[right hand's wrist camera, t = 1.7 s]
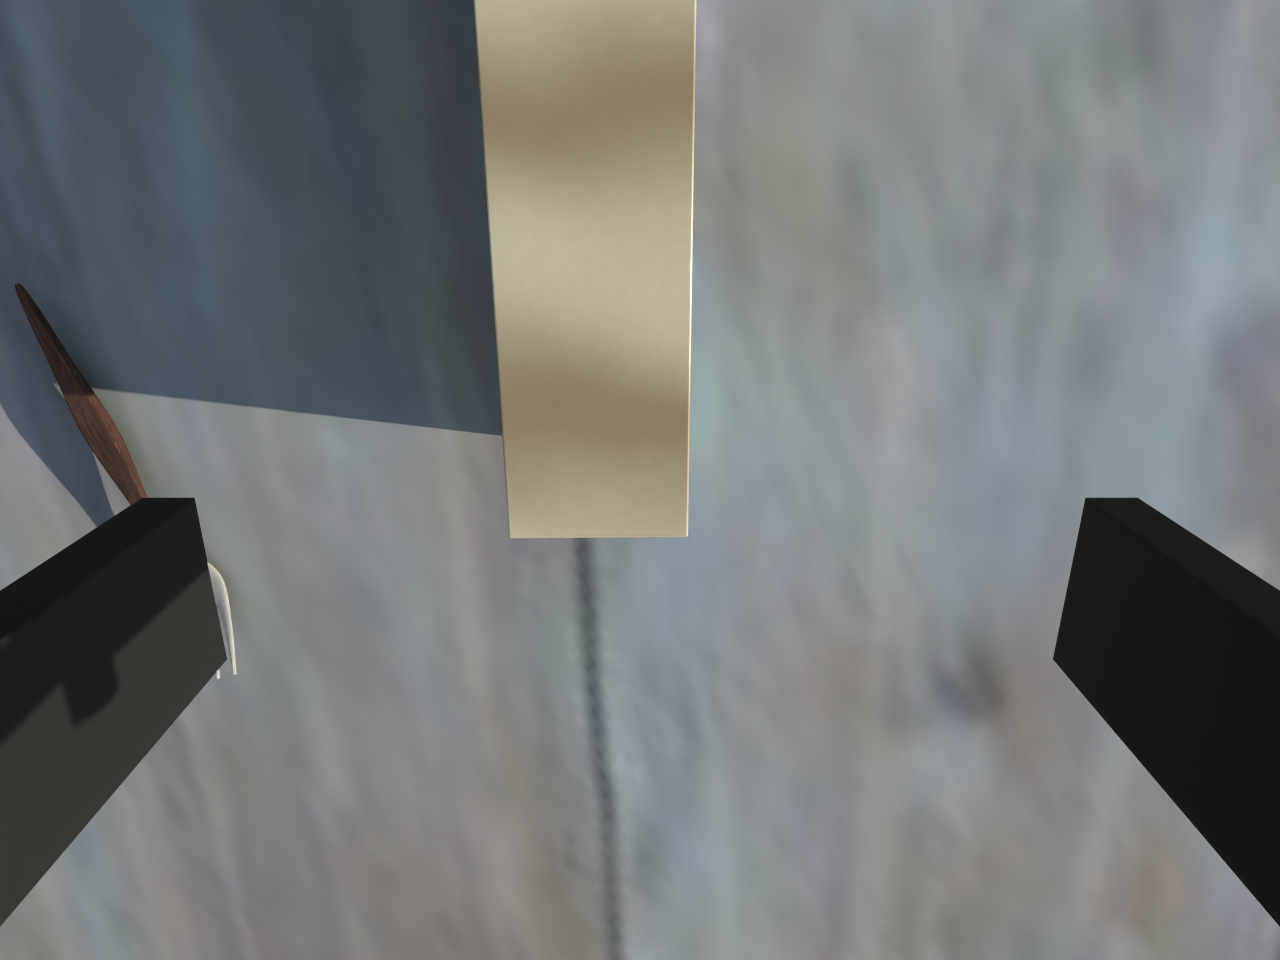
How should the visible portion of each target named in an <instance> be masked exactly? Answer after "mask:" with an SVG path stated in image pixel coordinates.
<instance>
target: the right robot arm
mask: <svg viewBox="0 0 1280 960" xmlns="http://www.w3.org/2000/svg"><path fill="white" fill-rule="evenodd" d="M226 660H227V657H226V652H225V647H224V642H223V637H222V632H221V627H220V622H219V617H218V612H217V607H216V602H215V597H214V592H213V588H212V583H211V578H210V573H209V568H208V563H207V558H206V553H205V548H204V543H203V538H202V533H201V528H200V523H199V518H198V513H197V508H196V503H195V498H141V499H140V500H138V501H137V502H135V503H134V504H132V505H131V506H129V507H128V508H126V509H125V510H123V511H122V512H120V513H118V514H117V515H115V516H114V517H112V518H111V519H109V520H108V521H106V522H105V523H103V524H102V525H100V526H99V527H97V528H96V529H94V530H93V531H91V532H89V533H88V534H86V535H85V536H83V537H82V538H80V539H79V540H77V541H76V542H74V543H73V544H71V545H70V546H68V547H67V548H65V549H63V550H62V551H60V552H59V553H57V554H56V555H54V556H53V557H51V558H50V559H48V560H47V561H45V562H44V563H42V564H41V565H39V566H37V567H36V568H34V569H33V570H31V571H30V572H28V573H27V574H25V575H24V576H22V577H21V578H19V579H18V580H16V581H15V582H13V583H11V584H10V585H8V586H7V587H5V588H4V589H2V590H1V591H0V926H1V925H2V924H3V923H4V921H5V920H6V919H7V918H8V917H9V915H10V914H11V913H12V912H13V911H14V910H15V908H16V907H17V906H18V905H19V904H20V903H21V901H22V900H23V899H24V898H25V897H26V895H27V894H28V893H29V892H30V891H31V890H32V888H33V887H34V886H35V885H36V884H37V882H38V881H39V880H40V879H41V878H42V877H43V875H44V874H45V873H46V872H47V871H48V870H49V868H50V867H51V866H52V865H53V864H54V862H55V861H56V860H57V859H58V858H59V857H60V855H61V854H62V853H63V852H64V851H65V849H66V848H67V847H68V846H69V845H70V844H71V842H72V841H73V840H74V839H75V838H76V837H77V835H78V834H79V833H80V832H81V831H82V829H83V828H84V827H85V826H86V825H87V824H88V822H89V821H90V820H91V819H92V818H93V816H94V815H95V814H96V813H97V812H98V811H99V809H100V808H101V807H102V806H103V805H104V804H105V802H106V801H107V800H108V799H109V798H110V796H111V795H112V794H113V793H114V792H115V791H116V789H117V788H118V787H119V786H120V785H121V783H122V782H123V781H124V780H125V779H126V778H127V776H128V775H129V774H130V773H131V772H132V771H133V769H134V768H135V767H136V766H137V765H138V763H139V762H140V761H141V760H142V759H143V758H144V756H145V755H146V754H147V753H148V752H149V750H150V749H151V748H152V747H153V746H154V745H155V743H156V742H157V741H158V740H159V739H160V738H161V736H162V735H163V734H164V733H165V732H166V730H167V729H168V728H169V727H170V726H171V725H172V723H173V722H174V721H175V720H176V719H177V717H178V716H179V715H180V714H181V713H182V712H183V710H184V709H185V708H186V707H187V706H188V705H189V703H190V702H191V701H192V700H193V699H194V697H195V696H196V695H197V694H198V693H199V692H200V690H201V689H202V688H203V687H204V686H205V684H206V683H207V682H208V681H209V680H210V679H211V677H212V676H213V675H214V674H215V673H216V672H217V670H218V669H219V668H220V667H221V666H222V664H223V663H224V662H225V661H226ZM1053 660H1054V661H1055V662H1056V663H1057V664H1058V666H1059V667H1060V668H1061V669H1062V670H1063V672H1064V673H1065V674H1066V675H1067V676H1068V677H1069V679H1070V680H1071V681H1072V682H1073V683H1074V684H1075V686H1076V687H1077V688H1078V689H1079V690H1080V692H1081V693H1082V694H1083V695H1084V696H1085V697H1086V699H1087V700H1088V701H1089V702H1090V703H1091V705H1092V706H1093V707H1094V708H1095V709H1096V710H1097V712H1098V713H1099V714H1100V715H1101V716H1102V717H1103V719H1104V720H1105V721H1106V722H1107V723H1108V725H1109V726H1110V727H1111V728H1112V729H1113V730H1114V732H1115V733H1116V734H1117V735H1118V736H1119V738H1120V739H1121V740H1122V741H1123V742H1124V743H1125V745H1126V746H1127V747H1128V748H1129V749H1130V750H1131V752H1132V753H1133V754H1134V755H1135V756H1136V758H1137V759H1138V760H1139V761H1140V762H1141V763H1142V765H1143V766H1144V767H1145V768H1146V769H1147V771H1148V772H1149V773H1150V774H1151V775H1152V776H1153V778H1154V779H1155V780H1156V781H1157V782H1158V783H1159V785H1160V786H1161V787H1162V788H1163V789H1164V791H1165V792H1166V793H1167V794H1168V795H1169V796H1170V798H1171V799H1172V800H1173V801H1174V802H1175V804H1176V805H1177V806H1178V807H1179V808H1180V809H1181V811H1182V812H1183V813H1184V814H1185V815H1186V816H1187V818H1188V819H1189V820H1190V821H1191V822H1192V824H1193V825H1194V826H1195V827H1196V828H1197V829H1198V831H1199V832H1200V833H1201V834H1202V835H1203V837H1204V838H1205V839H1206V840H1207V841H1208V842H1209V844H1210V845H1211V846H1212V847H1213V848H1214V849H1215V851H1216V852H1217V853H1218V854H1219V855H1220V857H1221V858H1222V859H1223V860H1224V861H1225V862H1226V864H1227V865H1228V866H1229V867H1230V868H1231V870H1232V871H1233V872H1234V873H1235V874H1236V875H1237V877H1238V878H1239V879H1240V880H1241V881H1242V882H1243V884H1244V885H1245V886H1246V887H1247V888H1248V890H1249V891H1250V892H1251V893H1252V894H1253V895H1254V897H1255V898H1256V899H1257V900H1258V901H1259V903H1260V904H1261V905H1262V906H1263V907H1264V908H1265V910H1266V911H1267V912H1268V913H1269V914H1270V915H1271V917H1272V918H1273V919H1274V920H1275V921H1276V923H1277V924H1278V925H1279V926H1280V591H1279V590H1278V589H1276V588H1275V587H1273V586H1272V585H1270V584H1269V583H1267V582H1265V581H1264V580H1262V579H1261V578H1259V577H1258V576H1256V575H1255V574H1253V573H1252V572H1250V571H1249V570H1247V569H1246V568H1244V567H1243V566H1241V565H1239V564H1238V563H1236V562H1235V561H1233V560H1232V559H1230V558H1229V557H1227V556H1226V555H1224V554H1223V553H1221V552H1220V551H1218V550H1217V549H1215V548H1213V547H1212V546H1210V545H1209V544H1207V543H1206V542H1204V541H1203V540H1201V539H1200V538H1198V537H1197V536H1195V535H1194V534H1192V533H1191V532H1189V531H1187V530H1186V529H1184V528H1183V527H1181V526H1180V525H1178V524H1177V523H1175V522H1174V521H1172V520H1171V519H1169V518H1168V517H1166V516H1165V515H1163V514H1161V513H1160V512H1158V511H1157V510H1155V509H1154V508H1152V507H1151V506H1149V505H1148V504H1146V503H1145V502H1143V501H1142V500H1140V499H1139V498H1085V503H1084V508H1083V513H1082V518H1081V523H1080V528H1079V533H1078V538H1077V543H1076V548H1075V553H1074V558H1073V563H1072V568H1071V573H1070V578H1069V583H1068V587H1067V592H1066V597H1065V602H1064V607H1063V612H1062V617H1061V622H1060V627H1059V632H1058V637H1057V642H1056V647H1055V652H1054V657H1053Z"/></svg>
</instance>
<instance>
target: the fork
mask: <svg viewBox="0 0 1280 960" xmlns="http://www.w3.org/2000/svg"><path fill="white" fill-rule="evenodd" d="M15 288H16V291H17V294H18V297H19V299H20V302H21V304H22V307H23V309H24V311H25V313H26V316H27V318H28V320H29V322H30V324H31V327H32V329H33V331H34V333H35V335H36V337H37V339H38V342H39V344H40V346H41V348H42V350H43V352H44V354H45V356H46V358H47V360H48V362H49V365H50V367H51V369H52V371H53V373H54V375H55V378H56V380H57V382H58V384H59V386H60V389H61V391H62V393H63V395H64V398H65V400H66V402H67V404H68V406H69V409H70V411H71V413H72V415H73V417H74V419H75V421H76V423H77V425H78V427H79V429H80V431H81V433H82V435H83V436H84V438H85V440H86V442H87V443H88V445H89V446H90V448H91V449H92V451H93V452H94V454H95V455H96V457H97V458H98V460H99V461H100V463H101V464H102V465H103V467H104V468H105V470H106V471H107V472H108V474H109V475H110V477H111V478H112V479H113V481H114V482H115V484H116V485H117V486H118V488H119V489H120V491H121V492H122V493H123V495H124V496H125V497H126V499H127V500H128V502H129V503H130V504H131V505H132V504H134V503H135V502H137V501H138V500H140V499H141V498H148V497H147V495H146V493H145V490H144V488H143V485H142V483H141V480H140V478H139V475H138V473H137V470H136V468H135V465H134V463H133V461H132V458H131V456H130V454H129V451H128V449H127V447H126V445H125V443H124V440H123V438H122V436H121V434H120V432H119V430H118V429H117V427H116V425H115V423H114V422H113V420H112V418H111V417H110V415H109V414H108V412H107V411H106V409H105V408H104V406H103V405H102V403H101V402H100V400H99V399H98V397H97V396H96V394H95V393H94V391H93V390H92V389H91V387H90V386H89V384H88V383H87V381H86V380H85V378H84V377H83V376H82V374H81V373H80V371H79V370H78V368H77V367H76V365H75V364H74V362H73V361H72V359H71V358H70V356H69V354H68V353H67V351H66V350H65V348H64V347H63V345H62V343H61V342H60V340H59V339H58V337H57V336H56V334H55V332H54V331H53V329H52V328H51V326H50V325H49V323H48V322H47V320H46V318H45V317H44V315H43V314H42V312H41V311H40V309H39V308H38V306H37V305H36V304H35V302H34V301H33V299H32V298H31V296H30V295H29V294H28V292H27V291H26V290H25V289H24V287H23V286H22V285H21V284H20V283H19V284H16V285H15ZM207 563H208V562H207ZM208 568H209V573H210V578H211V583H212V588H213V592H214V597H215V602H216V607H218V608H219V609H220V611H221V615H222V618H223V623H224V627H225V632H226V637H227V642H228V648H229V653H230V659H231V665H232V674H236V661H235V649H234V639H233V629H232V621H231V614H230V607H229V601H228V595H227V590H226V586H225V583H224V581H223V578H222V577H221V575H220V573H219V572H218V571H217V570H216V569H215V568H214V567H213V566H212V565H211V564H210V563H208ZM216 677H217V679H219V678H220V668H219V669H218V670H217V672H216Z"/></svg>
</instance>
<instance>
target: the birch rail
mask: <svg viewBox="0 0 1280 960" xmlns="http://www.w3.org/2000/svg"><path fill="white" fill-rule="evenodd" d="M474 13H475V28H476V43H477V58H478V73H479V89H480V104H481V119H482V134H483V149H484V165H485V180H486V195H487V210H488V225H489V241H490V256H491V271H492V286H493V301H494V317H495V332H496V347H497V362H498V377H499V392H500V408H501V423H502V438H503V453H504V468H505V484H506V499H507V514H508V529H509V537H510V538H603V537H687V536H688V492H689V429H690V366H691V303H692V240H693V177H694V114H695V51H696V0H474Z"/></svg>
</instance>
